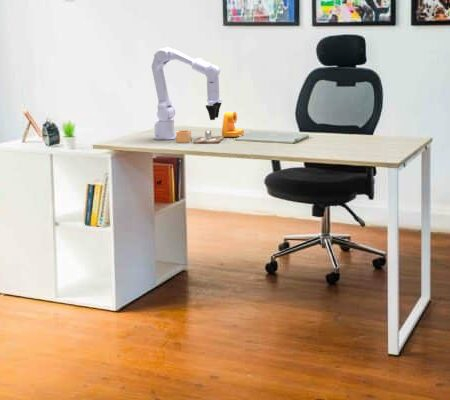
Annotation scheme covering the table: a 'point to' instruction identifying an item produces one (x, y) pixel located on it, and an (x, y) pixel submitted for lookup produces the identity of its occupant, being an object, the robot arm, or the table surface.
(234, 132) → the bracket
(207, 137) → the steel post
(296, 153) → the table surface
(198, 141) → the post base
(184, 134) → the collar
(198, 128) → the table surface
